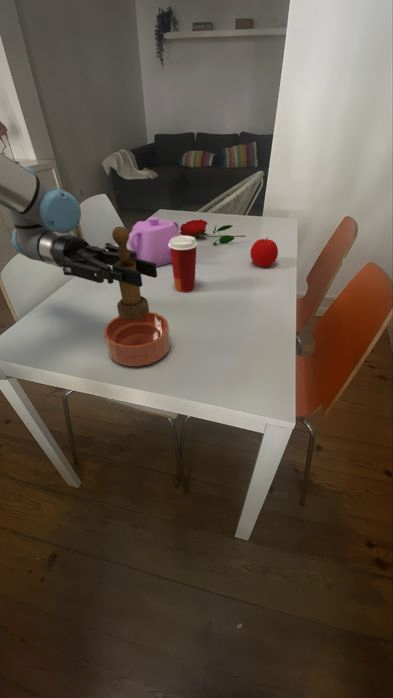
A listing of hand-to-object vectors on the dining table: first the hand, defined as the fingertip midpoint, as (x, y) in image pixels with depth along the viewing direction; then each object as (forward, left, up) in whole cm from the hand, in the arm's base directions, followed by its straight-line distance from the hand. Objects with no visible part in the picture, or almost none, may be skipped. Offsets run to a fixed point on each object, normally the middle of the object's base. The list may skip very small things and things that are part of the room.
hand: (147, 275), depth 60 cm
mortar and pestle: (-5, +3, -10) cm, 12 cm away
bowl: (-5, +3, -20) cm, 20 cm away
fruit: (+29, +52, -20) cm, 63 cm away
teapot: (-8, +57, -20) cm, 61 cm away
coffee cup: (+3, +34, -20) cm, 39 cm away
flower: (+11, +75, -20) cm, 78 cm away
